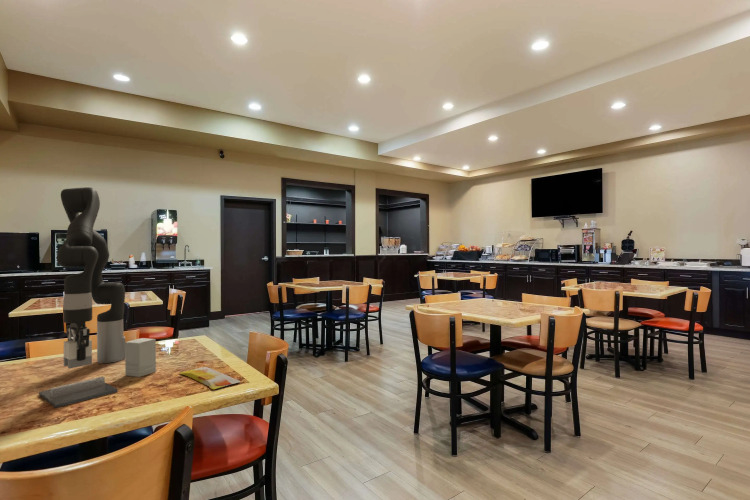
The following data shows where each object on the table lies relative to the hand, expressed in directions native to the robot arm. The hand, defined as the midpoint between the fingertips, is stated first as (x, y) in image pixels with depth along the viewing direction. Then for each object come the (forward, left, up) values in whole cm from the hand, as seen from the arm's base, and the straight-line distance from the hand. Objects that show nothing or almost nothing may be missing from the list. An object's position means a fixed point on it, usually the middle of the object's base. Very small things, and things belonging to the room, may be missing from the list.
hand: (77, 358), depth 124 cm
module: (0, 0, -2) cm, 2 cm away
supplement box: (-21, -6, -12) cm, 25 cm away
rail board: (0, 0, -11) cm, 11 cm away
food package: (-33, +21, -12) cm, 41 cm away
